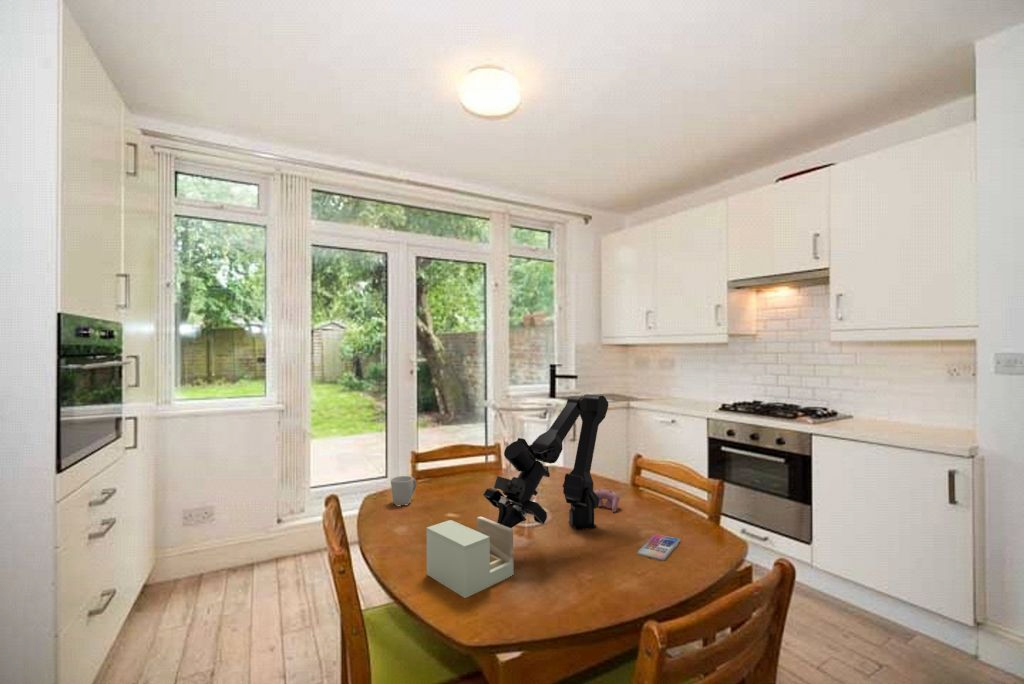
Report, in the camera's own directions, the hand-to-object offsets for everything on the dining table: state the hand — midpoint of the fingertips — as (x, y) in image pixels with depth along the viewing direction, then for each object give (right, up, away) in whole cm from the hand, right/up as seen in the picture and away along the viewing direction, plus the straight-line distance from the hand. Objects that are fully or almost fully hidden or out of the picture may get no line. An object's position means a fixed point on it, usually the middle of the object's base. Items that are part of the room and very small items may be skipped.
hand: (497, 535), depth 115 cm
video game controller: (+34, -7, +38) cm, 52 cm away
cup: (-33, -8, +46) cm, 57 cm away
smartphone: (+43, -7, +8) cm, 44 cm away
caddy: (-6, -7, -6) cm, 11 cm away
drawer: (-5, -7, -5) cm, 10 cm away
